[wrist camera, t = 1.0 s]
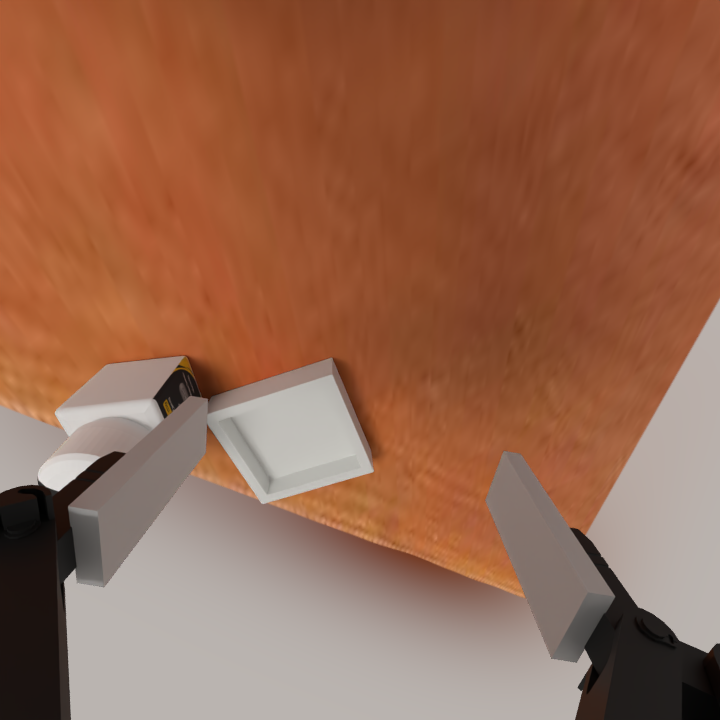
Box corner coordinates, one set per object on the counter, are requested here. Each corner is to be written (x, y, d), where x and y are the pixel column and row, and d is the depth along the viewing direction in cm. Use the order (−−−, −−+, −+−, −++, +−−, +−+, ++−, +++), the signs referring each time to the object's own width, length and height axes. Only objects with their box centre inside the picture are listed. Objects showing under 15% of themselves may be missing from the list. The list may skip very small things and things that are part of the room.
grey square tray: (211, 396, 34) (201, 416, 31) (332, 357, 33) (332, 374, 30) (266, 481, 40) (262, 504, 37) (371, 450, 38) (373, 471, 36)
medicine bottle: (211, 418, 35) (160, 527, 25) (137, 426, 35) (54, 540, 24) (187, 353, 32) (116, 448, 21) (105, 362, 32) (-7, 462, 21)
